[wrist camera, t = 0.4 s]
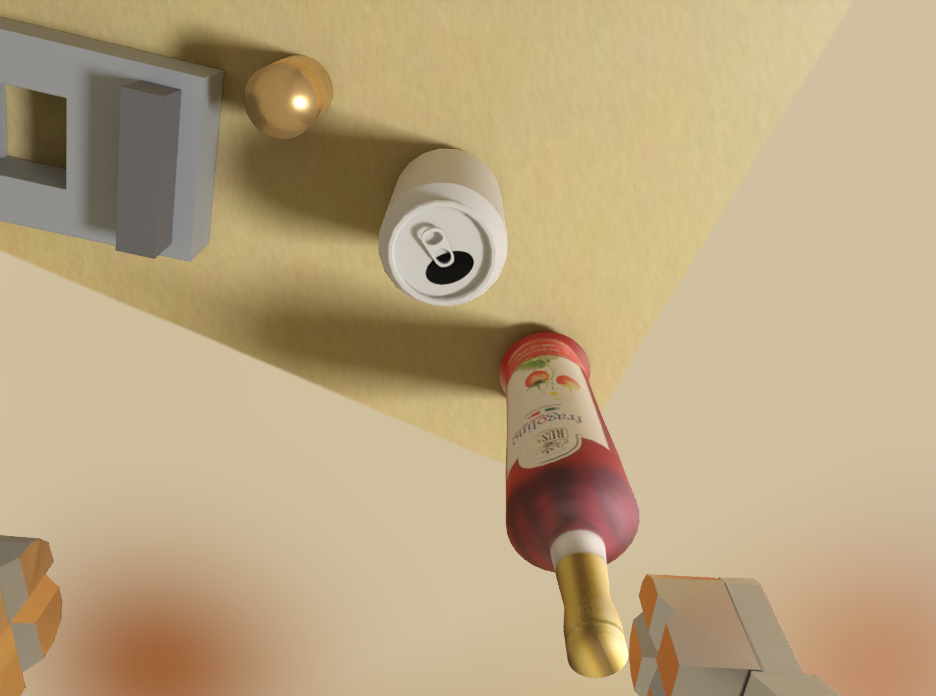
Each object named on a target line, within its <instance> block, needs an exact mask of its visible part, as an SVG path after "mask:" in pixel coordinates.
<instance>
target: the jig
mask: <svg viewBox="0 0 936 696" xmlns="http://www.w3.org/2000/svg"><path fill="white" fill-rule="evenodd" d="M223 76H224V71H223V70H219V69H215V68H211V67H207V66H203V65H199V64H194V63H190V62H186V61H182V60H178V59H174V58H169V57H165V56H161V55H157V54H153V53H149V52H145V51H140V50H136V49H132V48H128V47H124V46H120V45H116V44H111V43H107V42H103V41H99V40H95V39H91V38H87V37H82V36H78V35H74V34H70V33H66V32H62V31H58V30H53V29H49V28H45V27H41V26H37V25H33V24H29V23H24V22H20V21H16V20H12V19H8V18H4V17H0V221H3V222H8V223H12V224H17V225H22V226H26V227H31V228H36V229H40V230H45V231H49V232H54V233H59V234H63V235H68V236H73V237H77V238H82V239H87V240H91V241H96V242H100V243H105V244H110V245H114V246H116V251H121V252H126V253H130V254H135V255H140V256H144V257H149V258H154V259H155V258H156V257H157V256H158V255H161V256H165V257H170V258H175V259H179V260H184V261H189V262H191V261H192V260H193V259H194V258H195V257H196V256H197V255H198V254H199V253H200V252H201V251H202V250H203V248H204V247H205V246H206V245H207V244H208V243H209V235H210V224H211V213H212V201H213V190H214V179H215V167H216V156H217V145H218V133H219V122H220V111H221V99H222V88H223ZM5 84H8V85H13V86H17V87H21V88H26V89H30V90H34V91H38V92H43V93H47V94H51V95H56V96H60V97H64V98H67V144H66V169H64V168H60V167H55V166H51V165H46V164H42V163H37V162H33V161H28V160H24V159H19V158H15V157H10V156H7V130H6V99H5Z"/></svg>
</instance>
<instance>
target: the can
mask: <svg viewBox="0 0 936 696" xmlns="http://www.w3.org/2000/svg"><path fill="white" fill-rule="evenodd" d="M507 243H508V239H507V232H506V225H505V218H504V211H503V204H502V197H501V193H500V189H499V185H498V181H497V180H496V178H495V177H494V175H493V173H492V172H491V170H490V169H489V167H488V166H487V165H485V164H484V163H483V162H482V161H481V160H479V159H478V158H477V157H476V156H474V155H472V154H469V153H467V152H464V151H462V150H459V149H444V148H440V149H437V150H433V151H429V152H425V153H423V154H422V155H420V156H419V157H417V158H416V159H414V160H413V161H411V162H410V163H409V164H408V165H407V167H406V168H405V169H404V170H403V172H402V173H401V174H400V176H399V178H398V181H397V183H396V186H395V189H394V192H393V195H392V197H391V200H390V203H389V206H388V209H387V211H386V214H385V217H384V220H383V223H382V226H381V228H380V231H379V255H380V258H381V261H382V264H383V268H384V271H385V272H386V274H387V275H388V276H389V278H390V279H391V281H392V282H393V283H394V285H395V286H396V287H397V288H398V289H400V290H401V291H402V292H404V293H405V294H406V295H408V296H409V297H410V298H412V299H414V300H417V301H420V302H423V303H425V304H428V305H434V306H454V305H458V304H462V303H466V302H470V301H471V300H473V299H475V298H476V297H478V296H480V295H481V294H483V293H485V292H486V291H487V290H488V289H489V288H490V286H491V285H492V284H493V283H494V282H495V281H496V280H497V279H498V277H499V275H500V273H501V270H502V268H503V266H504V264H505V261H506V255H507Z"/></svg>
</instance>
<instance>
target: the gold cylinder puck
mask: <svg viewBox="0 0 936 696" xmlns="http://www.w3.org/2000/svg"><path fill="white" fill-rule="evenodd" d="M332 96H333V87H332V82H331V79H330V77H329V75H328V73H327V71H326V70H325V69H324V67H323V66H322V65H321V64H320V63H318V62H317V61H316V60H314V59H312V58H310V57H307V56H303V55H292V56H288V57H286V58H283V59H281V60H279V61H276V62H274V63H271V64H269V65H267V66H264V67H262V68H260V69H259V70H257V71H256V72H255V73H254V74H253V75H252V76H251V77H250V79H249V80H248V82H247V84H246V87H245V92H244V104H245V109H246V111H247V114H248V116H249V118H250V120H251V121H252V123H253V124H254V125H255V126H256V127H257V128H258V129H259V130H260V131H262V132H263V133H265V134H266V135H268V136H271V137H274V138H278V139H290V138H294V137H297V136H299V135H300V134H302V133H303V132H305V131H306V130H307V129H308V128H309V127H310V126H311V125H312V124H313V123H315V122H316V121H317V120H318V119H319V118H320V117H321V116H322V115H323V114H324V113H325V112H326V111H327V109H328V108H329V106H330V104H331V101H332Z"/></svg>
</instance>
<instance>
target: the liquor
mask: <svg viewBox="0 0 936 696" xmlns="http://www.w3.org/2000/svg"><path fill="white" fill-rule="evenodd" d="M589 376H590V365H589V361H588V357H587V355H586V354H585V352H584V350H583V349H582V348H581V347H580V345H579V344H578V343H576V342H575V341H574V340H572V339H571V338H569V337H567V336H565V335H562V334H558V333H552V332H541V333H535V334H531V335H528V336H526V337H524V338H522V339H520V340H518V341H517V342H516V343H514V344H513V345H512V346H511V347H510V348H509V349H508V350H507V352H506V353H505V355H504V357H503V358H502V361H501V364H500V369H499V379H500V383H501V386H502V389H503V391H504V392H505V394H506V399H507V449H506V527H507V534H508V537H509V539H510V542H511V544H512V546H513V547H514V549H515V550H516V552H517V553H518V554H519V555H521V557H523V558H524V559H525V560H526V561H528V562H529V563H531V564H533V565H534V566H536V567H539V568H541V569H544V570H547V571H551V572H555V573H556V577H557V581H558V585H559V589H560V592H561V596H562V600H563V604H564V607H565V610H564V637H565V644H566V651H567V657H568V662H569V665H570V667H571V668H572V669H573V670H574V671H575V672H577V673H578V674H580V675H583V676H586V677H591V678H599V677H606V676H609V675H612V674H614V673H616V672H617V671H619V670H620V669H621V668H622V667H623V666H624V665H625V663H626V661H627V658H628V650H627V646H626V642H625V638H624V633H623V629H622V625H621V621H620V618H619V616H618V614H617V612H616V610H615V607H614V605H613V603H612V601H611V599H610V592H609V581H608V571H607V564H608V563H610V562H612V561H613V560H615V559H616V558H618V557H619V556H620V555H621V554H622V553H623V552H624V551H625V550H626V549H627V548H628V546H629V545H630V544H631V543H632V541H633V539H634V537H635V535H636V533H637V530H638V525H639V509H638V506H637V502H636V499H635V497H634V494H633V492H632V489H631V487H630V484H629V482H628V480H627V477H626V474H625V471H624V469H623V466H622V463H621V461H620V458H619V455H618V452H617V450H616V448H615V446H614V443H613V441H612V439H611V436H610V434H609V432H608V429H607V427H606V425H605V423H604V420H603V418H602V415H601V413H600V410H599V407H598V405H597V402H596V400H595V397H594V394H593V392H592V389H591V386H590V383H589Z"/></svg>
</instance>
